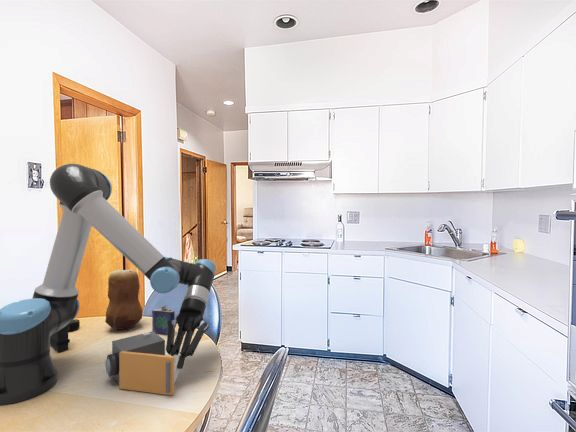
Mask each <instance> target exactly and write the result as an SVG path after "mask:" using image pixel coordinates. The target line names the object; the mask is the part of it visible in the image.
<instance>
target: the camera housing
mask: <svg viewBox="0 0 576 432" xmlns="http://www.w3.org/2000/svg"><path fill="white" fill-rule="evenodd" d="M111 343H112V344H111V353H110V354H107V355H106V359H105V362H104V365H105V366H104V367H105V371H106V374H107V375H108V377H110V378H111V377H113V378H114V379H115V381H116V382H117V383H118V384H119V353H120V352H121V351H127V352H137V353H147V354H157V355H166V340H165V338H163V337H162V336H160V335H159V334H156V333H155V332H153V331H152V330H151V331H147V332H142V333H140V334H136V335H132V336H127V337H123V338H119V339H116V340H112V341H111Z"/></svg>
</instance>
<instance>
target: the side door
mask: <svg viewBox="0 0 576 432" xmlns="http://www.w3.org/2000/svg"><path fill="white" fill-rule="evenodd" d="M118 387H119V389H120V390H127V391H128V390H129V391H134V392H135V391H138V392H142V393H143V392H144V393H152V394H161V395H168V396H169V395H170V396H173V395H174V394H175V383H174V356H171V355H168V354H167V355H166V354H165V355H157V354H147V353H137V352H127V351H121V352H120V353H119V383H118Z"/></svg>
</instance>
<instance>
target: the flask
mask: <svg viewBox="0 0 576 432" xmlns="http://www.w3.org/2000/svg"><path fill="white" fill-rule="evenodd" d="M166 306H167V304H165V305H161V306H160V308H154V309H152V310H151V311H152V313H151V314H152V320H151V322H152V326H151V329H152V330H151V331H153V332H155V333H156V334H157V335H159V334H162V335H163V336H168V328H169V327H168V324H167V322H168V321H169V320H170V321H173V320H175V319H176V318H175V310H174V309H171V308H169V309H168V307H166ZM162 335H161V336H162Z"/></svg>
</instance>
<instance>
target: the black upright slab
mask: <svg viewBox="0 0 576 432" xmlns="http://www.w3.org/2000/svg"><path fill="white" fill-rule="evenodd" d="M68 326H69V324H68V325H67V326H65V327H64V328H62V329H61V330H59V331H58V332H56V333H55V334H53V335H52V336H50V347H52V348H53V349H54V350H55V351H56V352H57V353H62V352H66V351H68V350H69V344H71V339H70V338H69V331H68Z"/></svg>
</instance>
